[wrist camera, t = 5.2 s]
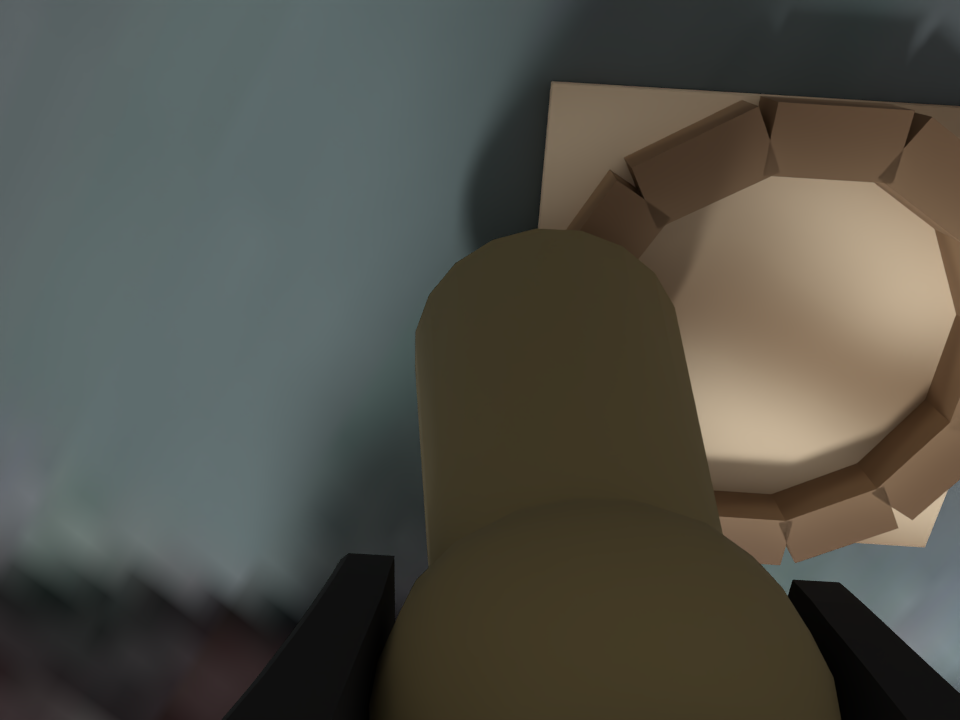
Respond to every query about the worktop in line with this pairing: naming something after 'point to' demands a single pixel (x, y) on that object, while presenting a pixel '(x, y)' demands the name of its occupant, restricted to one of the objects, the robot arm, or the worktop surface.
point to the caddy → (789, 292)
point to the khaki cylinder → (578, 513)
